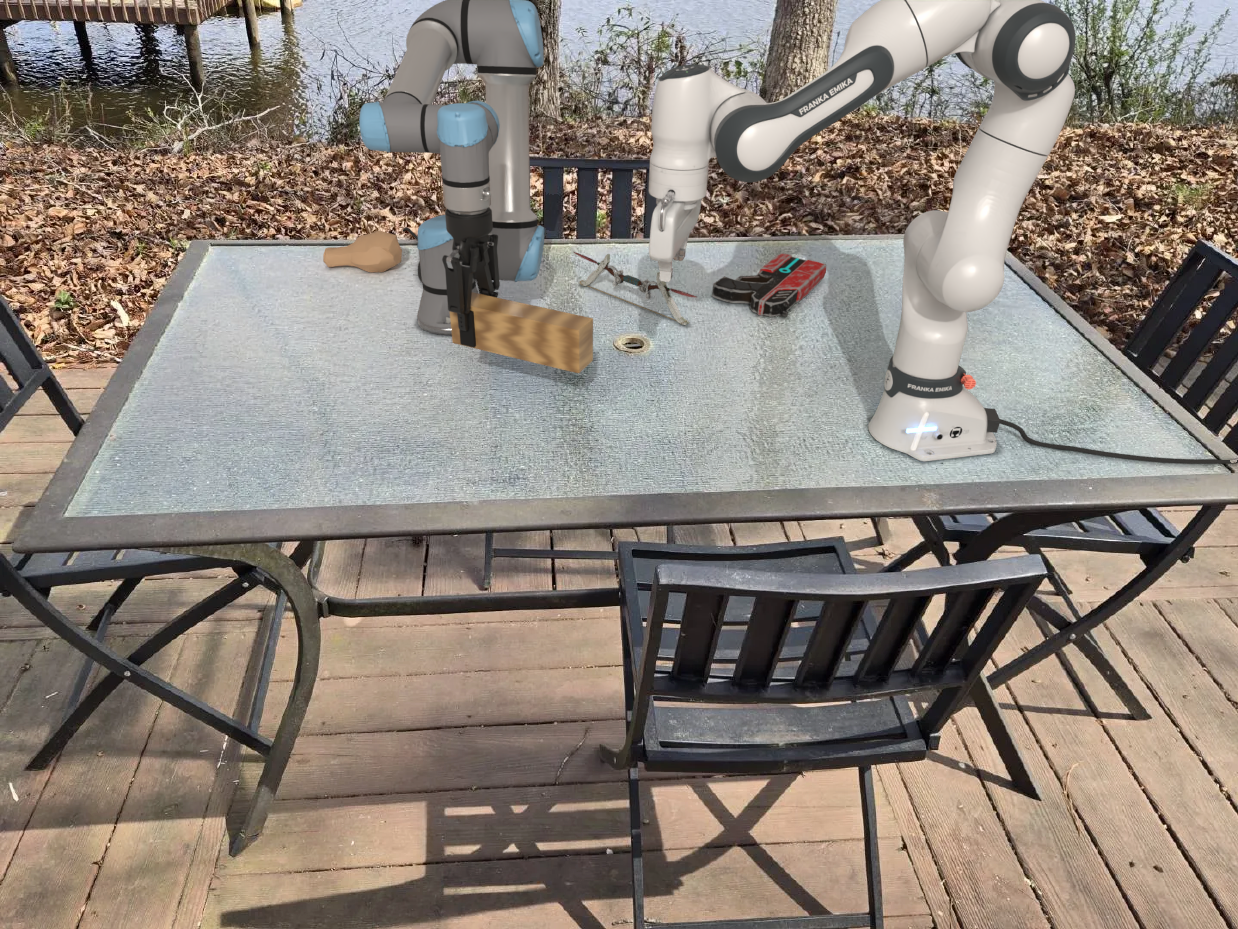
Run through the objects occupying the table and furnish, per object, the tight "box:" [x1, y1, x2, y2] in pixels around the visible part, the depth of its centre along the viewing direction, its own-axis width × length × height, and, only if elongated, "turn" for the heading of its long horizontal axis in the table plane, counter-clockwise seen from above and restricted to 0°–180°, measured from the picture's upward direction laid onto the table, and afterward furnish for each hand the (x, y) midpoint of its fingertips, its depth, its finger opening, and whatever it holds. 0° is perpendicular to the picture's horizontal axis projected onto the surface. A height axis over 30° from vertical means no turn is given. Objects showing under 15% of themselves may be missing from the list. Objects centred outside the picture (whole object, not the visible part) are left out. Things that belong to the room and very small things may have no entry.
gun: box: [711, 252, 827, 318], centre depth 215 cm, size 4×31×19 cm
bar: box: [450, 292, 594, 374], centre depth 150 cm, size 25×5×8 cm, turn 65°
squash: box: [322, 230, 403, 273], centre depth 220 cm, size 11×20×9 cm, turn 90°
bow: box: [573, 251, 698, 326], centre depth 205 cm, size 39×2×10 cm, turn 47°
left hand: (477, 338), depth 155 cm, fingers closed on bar, 5 cm apart
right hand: (672, 269), depth 140 cm, fingers open, 8 cm apart
